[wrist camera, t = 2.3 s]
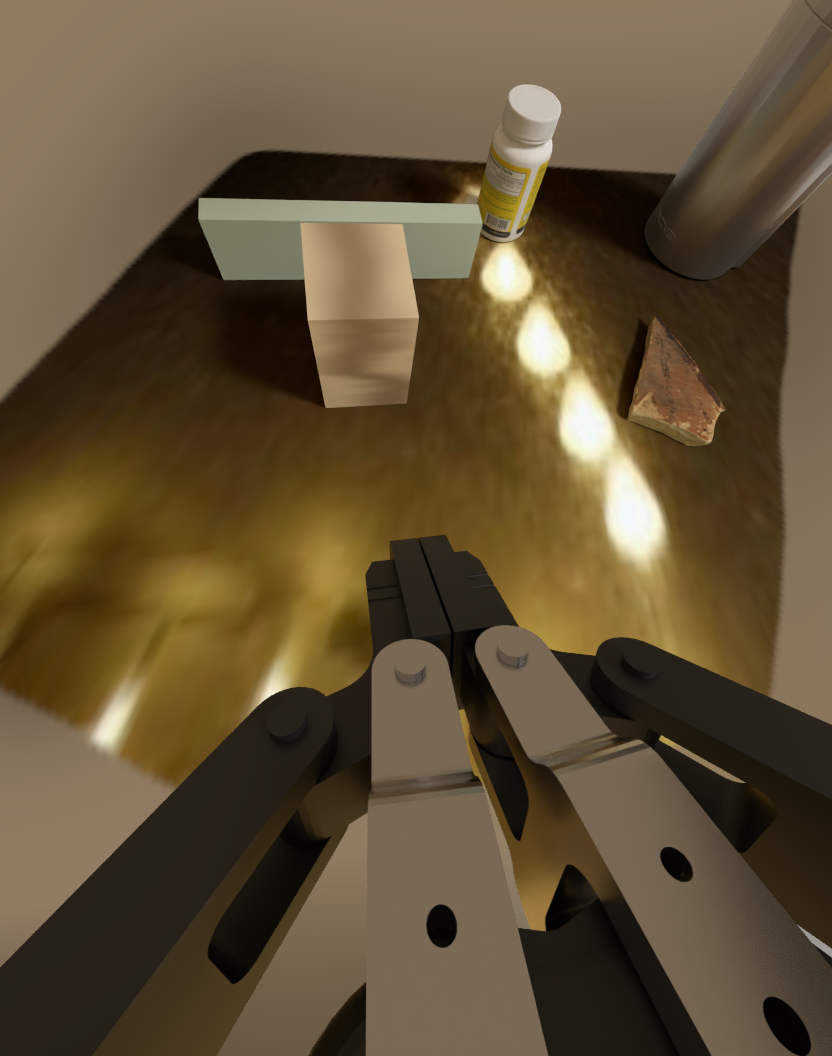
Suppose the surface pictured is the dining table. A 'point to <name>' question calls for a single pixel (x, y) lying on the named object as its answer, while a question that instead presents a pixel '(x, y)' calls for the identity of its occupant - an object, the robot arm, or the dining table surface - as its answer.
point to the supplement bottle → (517, 161)
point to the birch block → (360, 311)
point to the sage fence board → (275, 232)
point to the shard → (673, 391)
